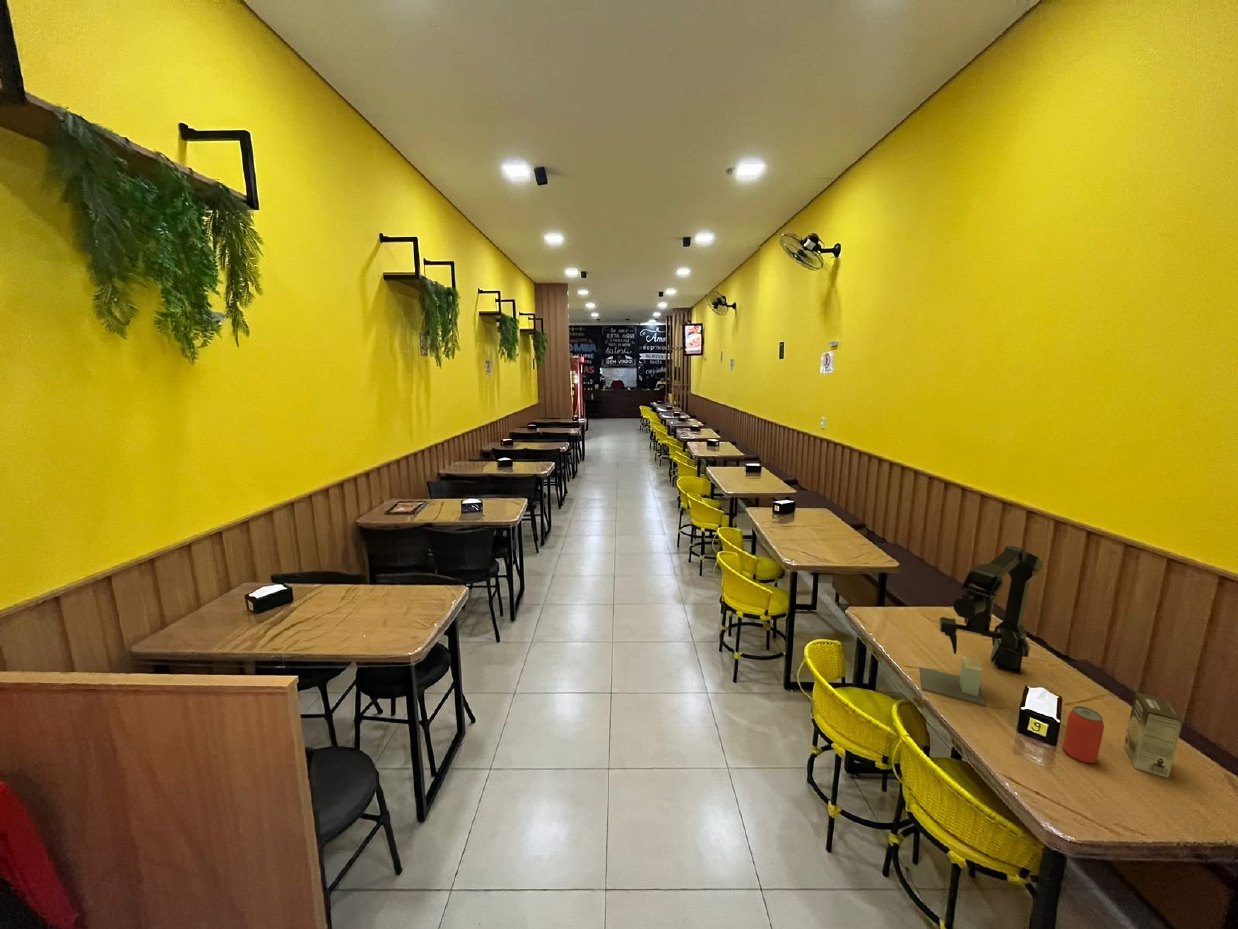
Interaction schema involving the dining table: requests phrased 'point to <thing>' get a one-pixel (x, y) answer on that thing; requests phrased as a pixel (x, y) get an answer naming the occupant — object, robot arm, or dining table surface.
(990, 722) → the dining table surface
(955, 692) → the mat
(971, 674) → the pale green block
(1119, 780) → the dining table surface
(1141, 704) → the coffee box
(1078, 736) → the beer can
